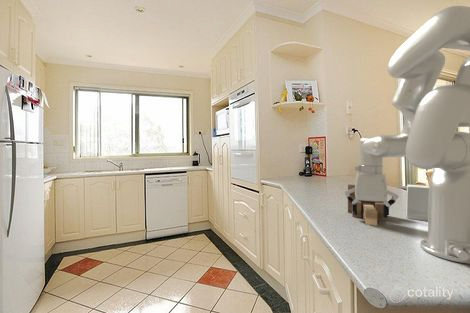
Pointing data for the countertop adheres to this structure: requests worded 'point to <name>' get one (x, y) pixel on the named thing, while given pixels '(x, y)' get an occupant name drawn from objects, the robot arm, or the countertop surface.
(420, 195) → the supplement box
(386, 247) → the countertop surface
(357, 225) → the countertop surface
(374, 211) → the light wooden block
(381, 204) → the wooden stand
